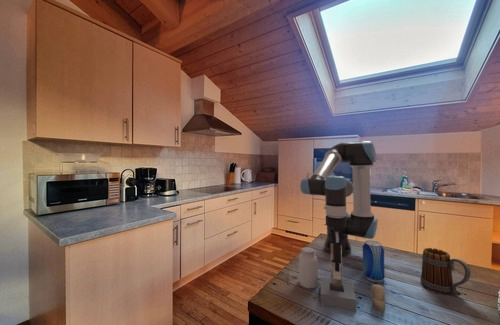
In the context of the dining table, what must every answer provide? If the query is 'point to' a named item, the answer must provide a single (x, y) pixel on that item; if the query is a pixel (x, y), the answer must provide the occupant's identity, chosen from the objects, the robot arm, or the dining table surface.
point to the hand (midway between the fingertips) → (336, 275)
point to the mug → (441, 272)
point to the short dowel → (378, 297)
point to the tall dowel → (333, 281)
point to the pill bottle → (308, 268)
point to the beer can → (373, 261)
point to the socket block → (337, 294)
